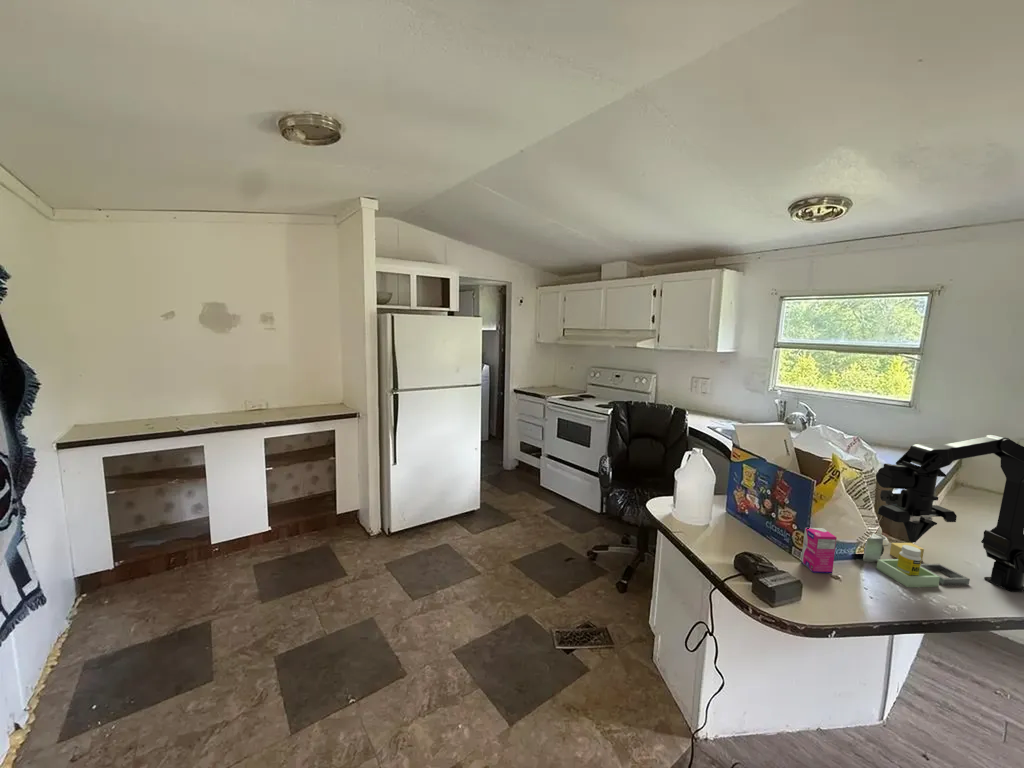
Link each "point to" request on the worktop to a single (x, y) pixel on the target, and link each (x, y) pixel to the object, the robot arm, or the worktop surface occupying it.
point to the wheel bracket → (873, 549)
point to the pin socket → (956, 577)
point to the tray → (922, 580)
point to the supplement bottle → (909, 560)
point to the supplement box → (818, 550)
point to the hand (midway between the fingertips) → (912, 541)
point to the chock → (897, 548)
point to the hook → (885, 540)
